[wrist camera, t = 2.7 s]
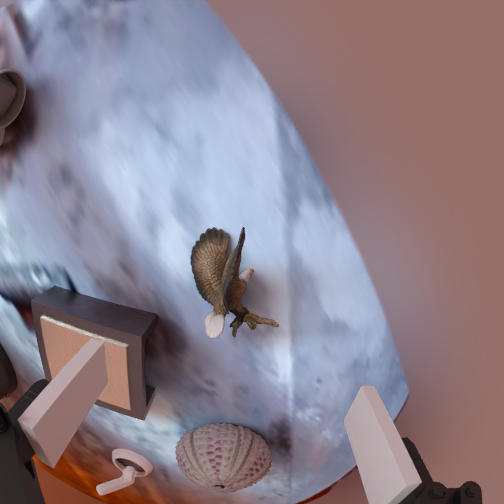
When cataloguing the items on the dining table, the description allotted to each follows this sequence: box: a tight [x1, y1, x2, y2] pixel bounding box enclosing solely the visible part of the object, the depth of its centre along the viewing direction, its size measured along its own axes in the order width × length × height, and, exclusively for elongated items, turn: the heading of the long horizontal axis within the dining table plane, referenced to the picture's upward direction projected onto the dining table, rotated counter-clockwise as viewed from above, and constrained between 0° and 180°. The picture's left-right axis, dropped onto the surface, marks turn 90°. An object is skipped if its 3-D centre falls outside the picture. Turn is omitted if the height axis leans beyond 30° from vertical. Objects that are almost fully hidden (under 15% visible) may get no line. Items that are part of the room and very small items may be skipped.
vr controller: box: [96, 449, 153, 495], centre depth 33 cm, size 8×12×7 cm
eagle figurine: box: [191, 227, 279, 338], centre depth 25 cm, size 8×7×9 cm
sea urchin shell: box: [176, 423, 272, 493], centre depth 30 cm, size 13×14×8 cm
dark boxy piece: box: [31, 286, 157, 420], centre depth 27 cm, size 12×14×5 cm
